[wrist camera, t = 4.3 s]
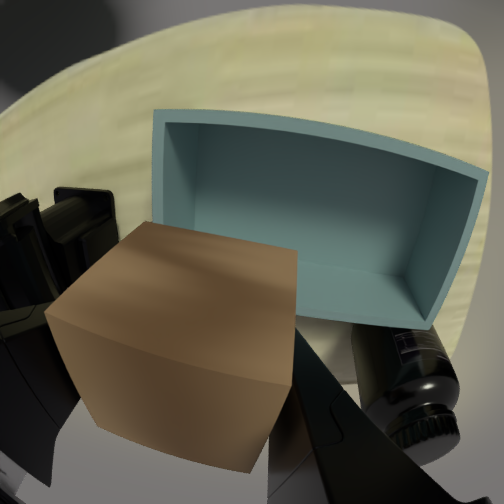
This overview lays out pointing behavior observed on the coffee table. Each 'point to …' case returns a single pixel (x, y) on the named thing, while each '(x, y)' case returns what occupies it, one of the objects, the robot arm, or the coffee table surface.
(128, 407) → the walnut cube
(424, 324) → the tote
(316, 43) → the coffee table surface
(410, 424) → the supplement bottle
